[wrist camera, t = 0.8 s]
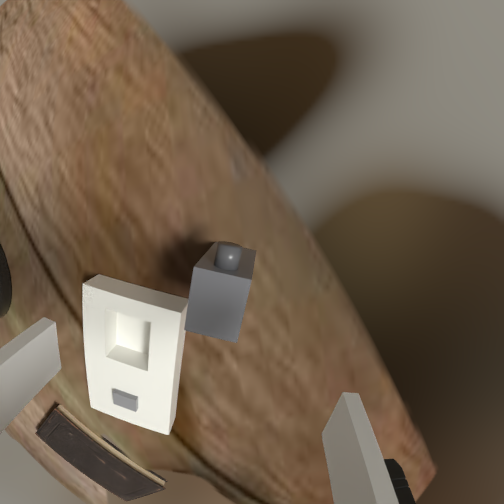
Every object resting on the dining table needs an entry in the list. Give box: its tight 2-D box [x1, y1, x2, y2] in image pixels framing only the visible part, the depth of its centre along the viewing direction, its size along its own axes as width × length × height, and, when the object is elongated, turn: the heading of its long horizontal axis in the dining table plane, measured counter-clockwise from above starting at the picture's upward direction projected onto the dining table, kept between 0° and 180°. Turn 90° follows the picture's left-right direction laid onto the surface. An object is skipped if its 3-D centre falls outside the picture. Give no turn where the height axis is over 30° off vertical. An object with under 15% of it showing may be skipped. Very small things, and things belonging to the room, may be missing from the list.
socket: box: [83, 274, 189, 435], centre depth 30 cm, size 11×18×4 cm, turn 168°
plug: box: [184, 242, 256, 343], centre depth 25 cm, size 4×7×9 cm, turn 168°
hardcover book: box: [35, 404, 167, 501], centre depth 38 cm, size 16×23×2 cm
